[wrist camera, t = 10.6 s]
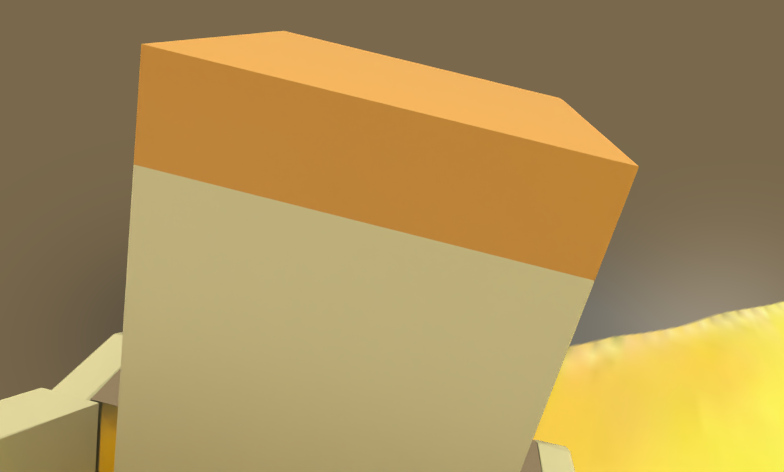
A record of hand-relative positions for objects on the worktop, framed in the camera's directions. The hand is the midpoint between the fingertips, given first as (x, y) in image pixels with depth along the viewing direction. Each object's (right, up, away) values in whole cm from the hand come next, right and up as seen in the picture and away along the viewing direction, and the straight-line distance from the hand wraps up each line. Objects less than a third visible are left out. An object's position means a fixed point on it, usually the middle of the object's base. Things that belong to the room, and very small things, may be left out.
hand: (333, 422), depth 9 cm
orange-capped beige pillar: (-2, -6, +2) cm, 7 cm away
